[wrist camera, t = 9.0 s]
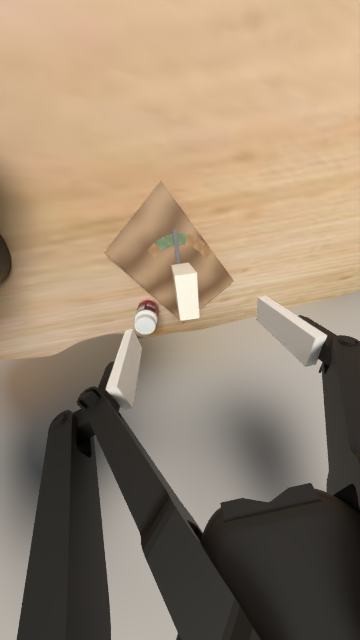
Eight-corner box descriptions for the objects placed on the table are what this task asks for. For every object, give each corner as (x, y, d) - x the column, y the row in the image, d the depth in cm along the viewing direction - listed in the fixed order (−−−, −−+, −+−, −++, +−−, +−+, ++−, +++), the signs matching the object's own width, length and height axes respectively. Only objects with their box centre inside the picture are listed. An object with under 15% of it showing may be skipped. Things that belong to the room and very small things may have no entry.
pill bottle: (162, 308, 37) (162, 327, 30) (148, 319, 38) (145, 340, 31) (148, 294, 35) (145, 311, 28) (134, 306, 36) (127, 325, 29)
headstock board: (107, 251, 29) (103, 252, 27) (160, 183, 25) (160, 180, 23) (182, 318, 39) (183, 322, 37) (230, 278, 35) (234, 281, 33)
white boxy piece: (174, 294, 33) (180, 320, 23) (165, 230, 27) (168, 232, 17) (188, 292, 33) (199, 317, 23) (182, 228, 27) (194, 228, 17)
